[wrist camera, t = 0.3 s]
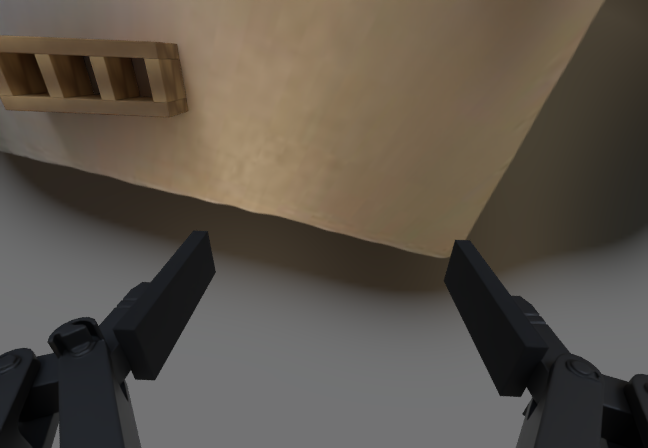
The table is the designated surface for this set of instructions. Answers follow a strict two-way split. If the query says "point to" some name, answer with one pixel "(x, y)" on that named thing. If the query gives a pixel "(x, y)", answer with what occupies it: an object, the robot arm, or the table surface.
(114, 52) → the pen holder
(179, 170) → the table surface
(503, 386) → the robot arm
